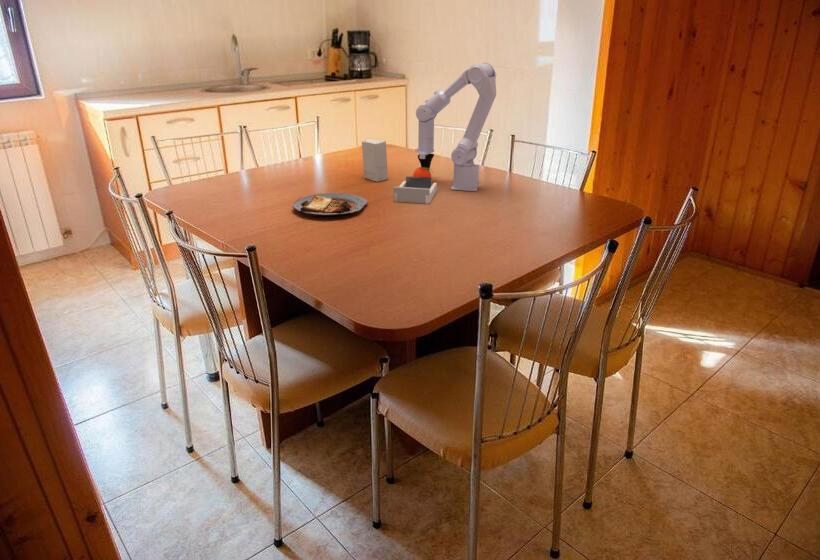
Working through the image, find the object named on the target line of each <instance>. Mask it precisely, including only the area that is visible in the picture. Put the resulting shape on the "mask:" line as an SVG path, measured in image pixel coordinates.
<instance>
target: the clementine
mask: <svg viewBox="0 0 820 560" xmlns="http://www.w3.org/2000/svg"><path fill="white" fill-rule="evenodd" d="M428 169H429V168H426V167H421V166H420V167H418V168H416V169H415V170H414V171H413V173H412V177H426V178H432V173H434V171H433V169H431V168H430V169H429V170H428ZM431 172H432V173H431Z"/></svg>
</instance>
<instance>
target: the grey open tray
mask: <svg viewBox="0 0 820 560" xmlns="http://www.w3.org/2000/svg"><path fill="white" fill-rule="evenodd" d="M437 191H438V183H437V182H433V183H432V185H431V188H430V189H427V188H411V187H406V180H403V181H402V182H401V184H400V185H399V186H394V187H393V202H394V203H395V202H396V203H397V202H398V203H412V204H414V203H415V204H424V203H425V204H426V205H427V204H428V205H429V204H430V203H431V201H432V200H433V198H434V196H435V194H436V193H437Z"/></svg>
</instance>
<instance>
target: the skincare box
mask: <svg viewBox="0 0 820 560" xmlns="http://www.w3.org/2000/svg"><path fill="white" fill-rule="evenodd" d="M361 148H362V162H363V178H364V179H365V178H367V179H366V180H369V179H370V181H374V182H383V181H388V179H389V175H388V171H389V170H388V157H387V154H388V153H387V141H386V140H381V139H375V138H370V139H366V140H362V141H361Z"/></svg>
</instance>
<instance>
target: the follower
mask: <svg viewBox="0 0 820 560" xmlns="http://www.w3.org/2000/svg"><path fill="white" fill-rule="evenodd" d="M405 181H406V187H411V188H427V189H430V188H431V186H432V185H433V183H432V177H431V178H426V177H413V176H409V175H408V176H405Z"/></svg>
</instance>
